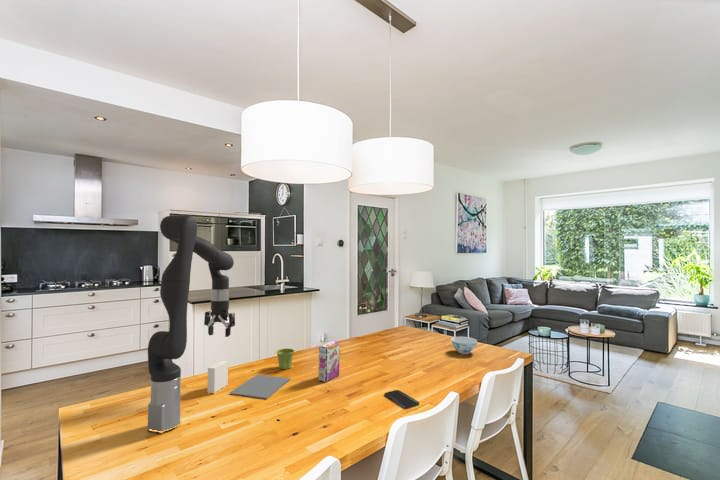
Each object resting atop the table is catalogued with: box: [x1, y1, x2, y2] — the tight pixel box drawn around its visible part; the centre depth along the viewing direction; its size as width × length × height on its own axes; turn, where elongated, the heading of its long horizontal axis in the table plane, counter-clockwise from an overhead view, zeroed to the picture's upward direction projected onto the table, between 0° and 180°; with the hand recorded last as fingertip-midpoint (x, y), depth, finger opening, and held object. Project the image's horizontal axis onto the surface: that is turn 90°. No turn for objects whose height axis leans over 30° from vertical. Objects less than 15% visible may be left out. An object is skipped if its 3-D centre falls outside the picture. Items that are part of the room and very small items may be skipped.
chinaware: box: [450, 336, 478, 355], centre depth 209 cm, size 15×15×8 cm
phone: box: [383, 389, 420, 410], centre depth 145 cm, size 8×1×15 cm
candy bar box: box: [318, 340, 341, 383], centre depth 168 cm, size 11×5×16 cm, turn 149°
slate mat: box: [229, 374, 292, 400], centre depth 157 cm, size 22×18×1 cm
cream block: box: [207, 360, 229, 394], centre depth 154 cm, size 9×4×11 cm, turn 165°
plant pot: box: [275, 348, 296, 370], centre depth 182 cm, size 9×9×9 cm
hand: (219, 335), depth 155 cm, fingers open, 8 cm apart
